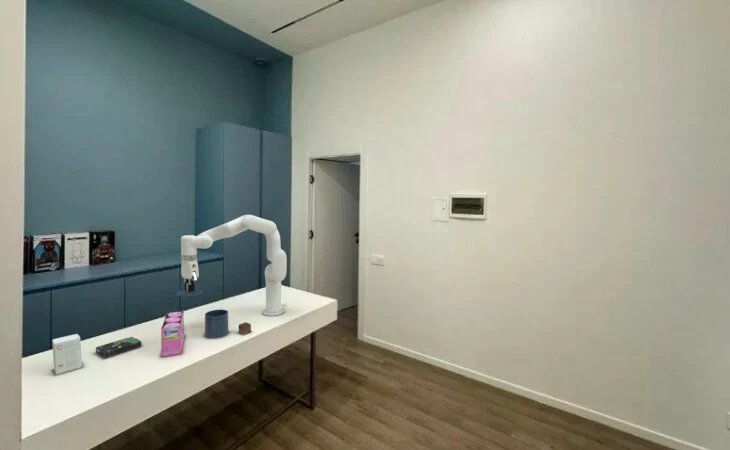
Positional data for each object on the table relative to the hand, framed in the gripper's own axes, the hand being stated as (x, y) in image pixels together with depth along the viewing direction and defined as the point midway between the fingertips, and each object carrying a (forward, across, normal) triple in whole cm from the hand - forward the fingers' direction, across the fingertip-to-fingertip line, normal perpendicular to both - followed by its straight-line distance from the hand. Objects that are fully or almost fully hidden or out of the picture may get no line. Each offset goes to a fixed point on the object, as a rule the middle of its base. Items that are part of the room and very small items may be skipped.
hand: (189, 290), depth 176 cm
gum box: (+22, -15, +16) cm, 31 cm away
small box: (+22, -2, +52) cm, 56 cm away
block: (+21, -29, -14) cm, 39 cm away
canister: (+21, -19, -4) cm, 29 cm away
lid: (+1, 0, 0) cm, 1 cm away
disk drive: (+22, +1, +33) cm, 39 cm away
